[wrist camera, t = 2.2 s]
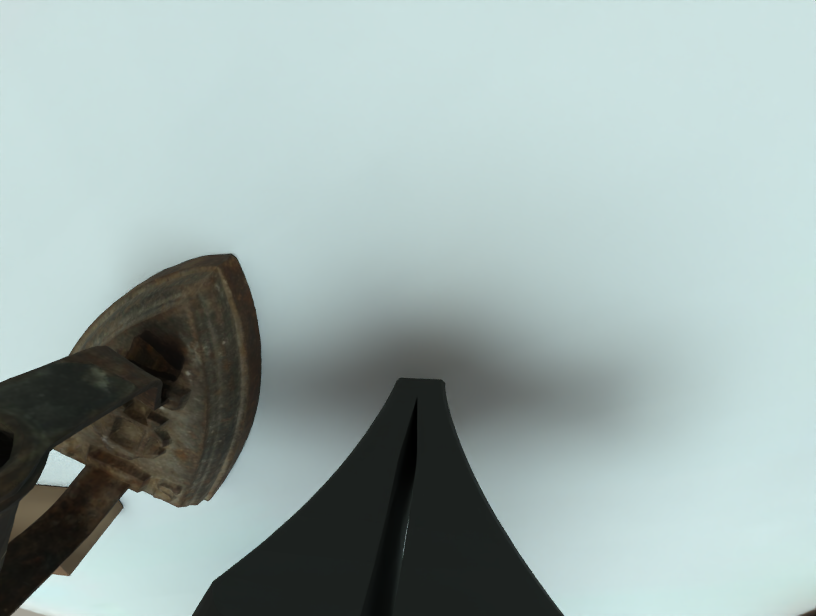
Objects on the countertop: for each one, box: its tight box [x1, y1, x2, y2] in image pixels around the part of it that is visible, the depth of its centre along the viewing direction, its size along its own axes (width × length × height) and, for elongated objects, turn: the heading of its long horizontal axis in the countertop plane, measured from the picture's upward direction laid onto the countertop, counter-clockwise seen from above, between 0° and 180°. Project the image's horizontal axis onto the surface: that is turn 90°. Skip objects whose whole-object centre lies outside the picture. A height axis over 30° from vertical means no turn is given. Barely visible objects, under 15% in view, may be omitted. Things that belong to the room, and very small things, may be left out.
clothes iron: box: [0, 254, 261, 616], centre depth 11 cm, size 7×11×10 cm, turn 147°
